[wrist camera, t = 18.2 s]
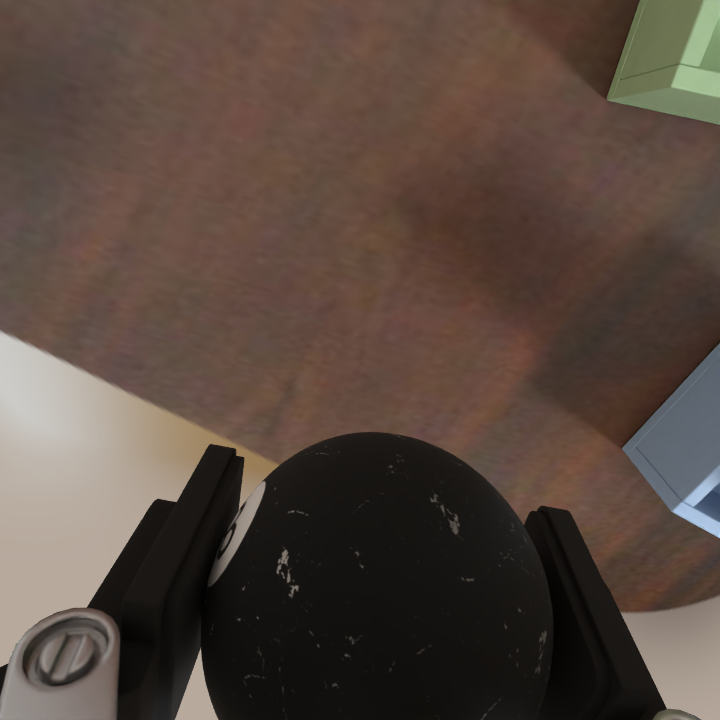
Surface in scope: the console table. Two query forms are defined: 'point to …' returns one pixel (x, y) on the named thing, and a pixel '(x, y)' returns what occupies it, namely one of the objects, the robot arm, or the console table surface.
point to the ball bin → (672, 59)
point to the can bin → (685, 447)
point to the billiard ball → (376, 592)
